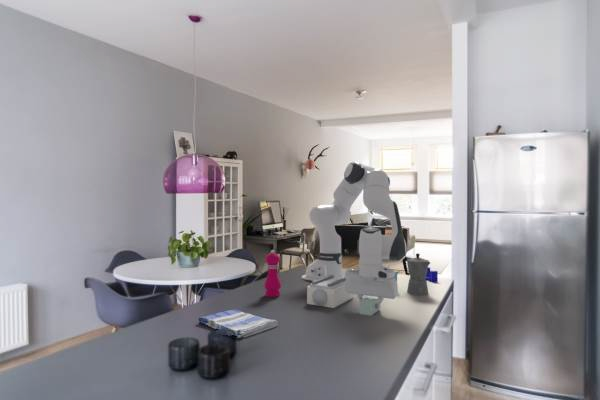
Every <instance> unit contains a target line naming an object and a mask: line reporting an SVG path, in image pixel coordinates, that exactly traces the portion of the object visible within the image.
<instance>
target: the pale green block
mask: <svg viewBox="0 0 600 400" xmlns="http://www.w3.org/2000/svg"><path fill="white" fill-rule="evenodd" d="M362 298H363V299H362V300H359V315H364V316H370V317H371V316H373V315H374V314H376V313H377V312H379V311H380V310H381V308H380V309H376V308H375V307H376V306H375V304H376V303H378V302H379V300H378V297H374V296H367V295H366V297H365V296H364V297H362Z"/></svg>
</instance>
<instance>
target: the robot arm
mask: <svg viewBox="0 0 600 400" xmlns="http://www.w3.org/2000/svg"><path fill="white" fill-rule="evenodd" d="M343 176H344V178H343V179H342V180H341V181H340V183H339V184H338V185H337V187H336V188H335V190H334V191H333V199H334V200H333V202H332V203H331V204H320V205H316V206H313V207H312V208H311V209H310V211H309V220H310V222H311V223H312V225H314V226H315V228H316V231H317V234H318V238H319V252H317V253H315V257H316V259H315V260H314V261H312V262H311V263H310V264H309V265H308V266H307V267H306V269H305V270H306V271H305V274H303V275H302V276H301V280H306V281H311V282H313V281H316V280H318V279H321V278H324V277H327V276H330V275H334V278H344V277H346V281H345V291H346V292H347V293H353V295H357V298H358V300H359V301H360V300H362V299H363V298H364V296H366V297H367V296H374V297H378V300H379V302H378V303H376V304H375V306H376V307H375V308H376V309H380V310H381V306H382V305H381V304H382V303H383V301H384V299H388V300H389V299H391V300H394V299H396V298H397V297H398V295H399V291H398V290H399V287H398V280H397V281H396V279H395V278H394V276H395V272H396V271H395V270H393V269H392V268H387V267H388V266H385V265H383V260H390V261H396V262H399V261H402V260H403V259H404V257H406V254H407V252H408V250H407V242H406V240H405V237H404V232H403V227H402V221H401V217H400V211H399V207H398V205H397V203H396V201H394V200H392V199H391V197H390V185H391V180H390V177H389V176H388V174H387V173H386V172H385V171H383V169H376V168H374V167H371V166H370V165H369V166H368V165H366V164H362V163H361V162H358V161H352V162H350V163H348V165H347V166H346V168H345V171H344V173H343ZM362 192H363V193H362ZM361 193H362V201H363V204H364V206H365V207H366V209H368V211H370V212H372V213H374V214H377V215H379V216H382V217H385V218H386V219H388V220H389V222H390V226H391V227H390V228H391V231H392V232H391V234H382V230H381V229H380V228H379V227H375V226H367V227H363V228H361V229H360V233H359V239H358V240H357V245H356V247H357V250H356V251H357V255H359V259H358V269H357V268H355V269H354V268H348V269H346V271H345V273H343V267H342V265H343V264H342V263H343V252H342V237H341V235H339V234H338V233H337V231H336V227H335V226H342V225H345V224H347V223H349V221H350V220H351V217H352V212H351V208H352V206H353V204H354V203H355V201H356V200H357V198H359V196H360V194H361ZM344 274H345V276H344Z"/></svg>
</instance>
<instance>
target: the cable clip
mask: <svg viewBox="0 0 600 400" xmlns="http://www.w3.org/2000/svg"><path fill="white" fill-rule="evenodd" d="M438 274H439V273H438V270H431V267H429V266H428V269H427V275H426V281H428V282H429V283H438Z"/></svg>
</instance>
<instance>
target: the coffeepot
mask: <svg viewBox="0 0 600 400" xmlns="http://www.w3.org/2000/svg"><path fill="white" fill-rule="evenodd" d="M401 261H402V262H401V263H402V265H403V270H404V274H405V275H406V276H409V280H408V284H407V290H406V292H407V293H408V294H410V295H415V296H427V295H428V294H429V288H428V283H427V281H428V280H426V275H427V269H428V267H429V265H430V264H431V262H430V261H429V260H427V259H425V258H421V257H420V253H418V252H417V253H416V254H415V257H410V256H409V257H408V256H404V257H403V258H402V259H401Z"/></svg>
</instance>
